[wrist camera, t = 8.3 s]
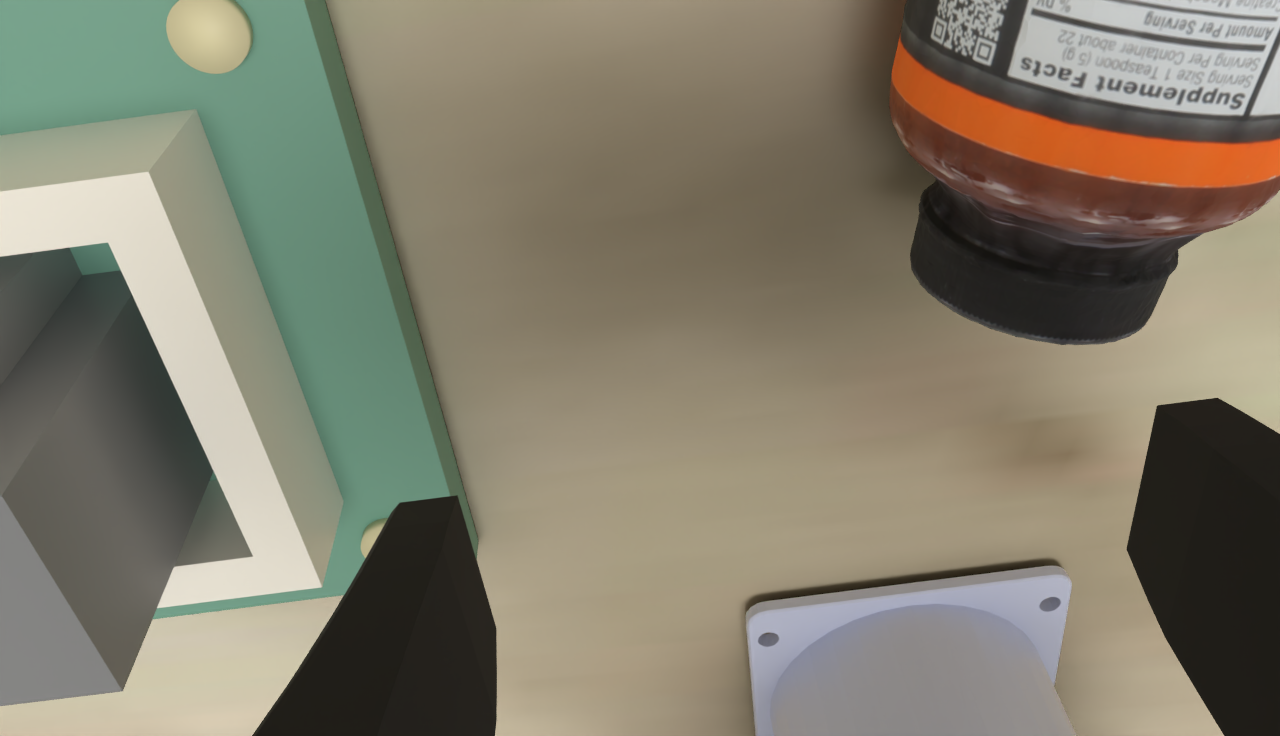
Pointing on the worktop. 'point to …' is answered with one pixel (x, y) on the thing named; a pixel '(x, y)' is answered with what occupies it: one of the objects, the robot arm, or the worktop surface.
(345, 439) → the board
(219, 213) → the frame
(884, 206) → the worktop surface
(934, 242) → the supplement bottle
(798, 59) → the worktop surface
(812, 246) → the worktop surface
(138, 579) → the plug
